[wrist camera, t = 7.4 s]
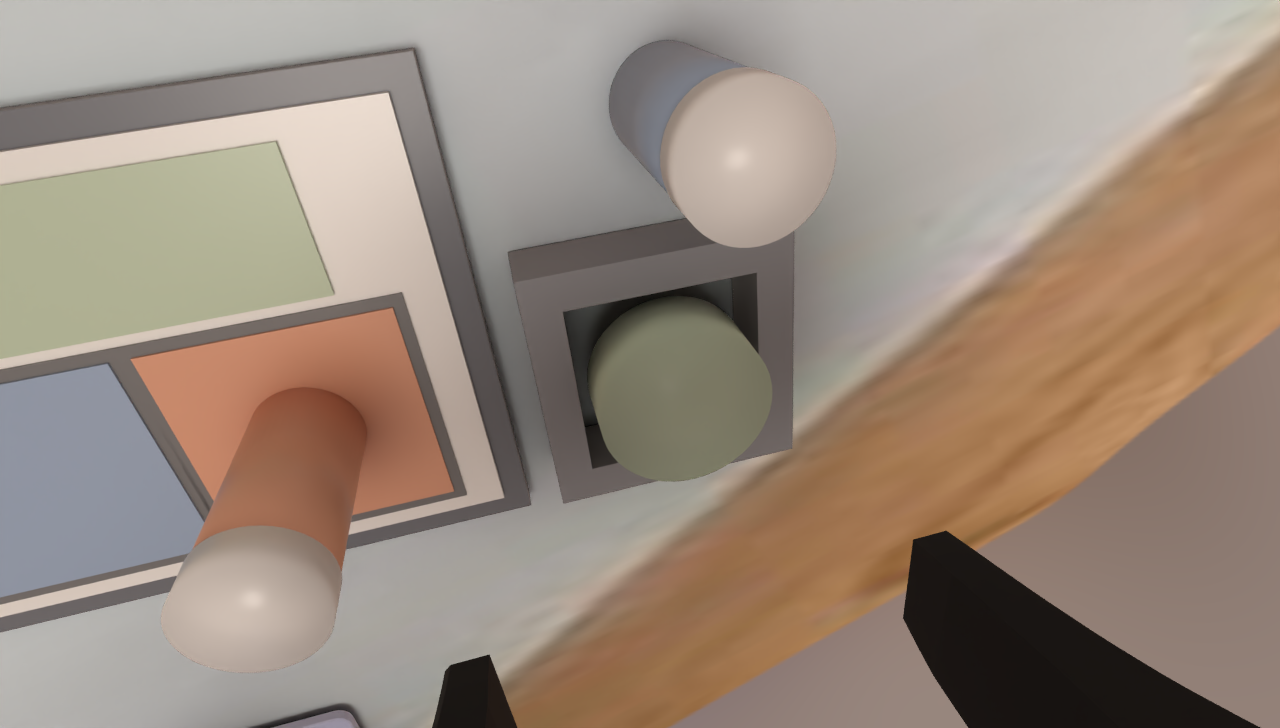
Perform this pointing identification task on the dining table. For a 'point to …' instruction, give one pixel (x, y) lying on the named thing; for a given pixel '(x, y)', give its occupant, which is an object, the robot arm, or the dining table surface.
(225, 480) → the terracotta marker
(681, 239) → the button collar
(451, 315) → the colour zone board
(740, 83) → the slate blue marker
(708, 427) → the button
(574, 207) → the dining table surface
